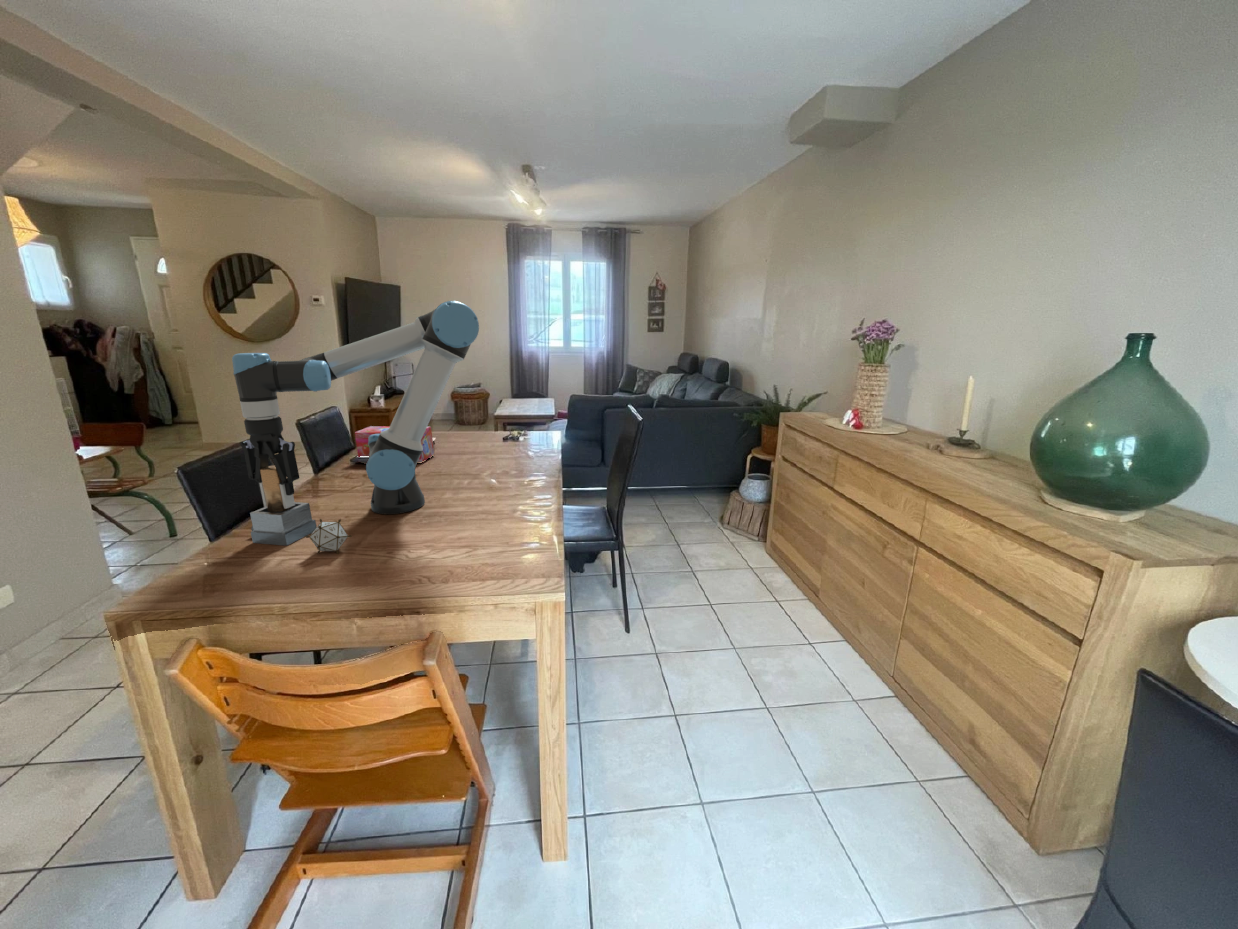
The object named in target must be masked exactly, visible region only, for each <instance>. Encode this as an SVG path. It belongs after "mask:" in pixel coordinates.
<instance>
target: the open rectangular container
mask: <svg viewBox="0 0 1238 929" xmlns="http://www.w3.org/2000/svg"><path fill="white" fill-rule="evenodd" d="M294 502H295V505H294V506H292V508H290V509H288V510H285V511H281V512H269V511H268V508H267V507H264V506H263V507H261V508H259V509H257V510H255V511H251V512H249V514H250V519H251V524H252V526H251V529H250V530H251V531H250V536H251V539H252V541H251V542H252V543H253V544H261V545H262V544H263V545H275V546H276V545H277V546H289V545H291V544H293V543H295V542H297V541H299V540H302V539H304V538H306V537H305V536H310V535H311V534H312V532H313V531H314V530H315V529H316V528H317V526H318V525H317V522H316V519H313V517H312V513H311V511H312V510H311V506H310V502H299V501H294Z"/></svg>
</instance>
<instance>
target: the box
mask: <svg viewBox="0 0 1238 929" xmlns="http://www.w3.org/2000/svg"><path fill="white" fill-rule="evenodd" d="M389 428H390V425H389V426H384V425H383V426H378V425H377V426H374V425H373V426H372V425H370V426H367V427H364V428H363V429H360V430H357V431H355V432H354V437H355V444H356V450H357V451H356V452H357V458H358V457H360V456H369V455H370V449H369V445H368V437H369V436H370V435H373V434H380V433H381V432H382V431H385V430H388V429H389ZM421 445H422V447H423V451H422V453H421V455H420V458H419V460H418V462H422V461H424V460H427V459H428V458H430V457H431V456H432V455H433V454H434V455H435V449H434V440H433V431H432V426H427V428H426V430H425V432H424V435H423V437H422V439H421ZM430 459H431V458H430ZM427 461H428V460H427Z"/></svg>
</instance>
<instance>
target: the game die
mask: <svg viewBox="0 0 1238 929" xmlns="http://www.w3.org/2000/svg"><path fill="white" fill-rule="evenodd" d="M341 521H342V519H341V518H340V519H338V521H323V519H322V518H319V524H318V525H316V526H317V528H316V529H315V530H314V531H313V532H312V533H311V534H309V535H307V536H305V537H304V538H306V539H308V538H309V539H310V541H311V542H312V543H313V545H314V546H315V548H316V549H317V550H318V551H317V552H316V554H317V555H318V554H320V553H321V552H335V553H336V554H337V555H339V554H340V552H339V550H340V548H341V547H342V546H343V544H344V543H345V542H346V540H348V538H351V537H353V535H351V534H349V535H348V533H347V531H346V530H345V528H344V527H343V525H341Z"/></svg>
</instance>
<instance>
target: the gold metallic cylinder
mask: <svg viewBox="0 0 1238 929" xmlns="http://www.w3.org/2000/svg"><path fill="white" fill-rule="evenodd" d="M260 474H261V479H262V484H263V489H264V494H265V498H266V503H267V508H268V511H269V512H281V511H285V510H288V509H290V508H292V507H289V508H287V509H285V508H284V506H283V500H282V495H281V490H280V485H279V484H280V483H281V482H282V481H281V479H280V476H279V474H278V472H277V469H276V467H275V465H273V464H272V465H268V466H267V467H264V468H261V469H260ZM286 478H287V477H286Z"/></svg>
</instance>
